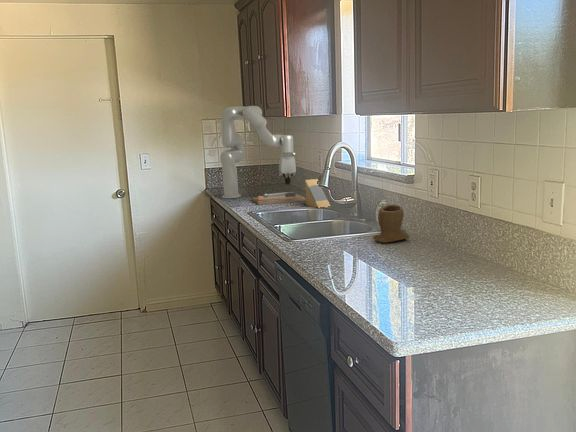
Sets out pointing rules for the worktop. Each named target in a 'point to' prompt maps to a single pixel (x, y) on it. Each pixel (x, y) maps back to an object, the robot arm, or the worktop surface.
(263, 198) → the tongs lower arm
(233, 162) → the robot arm
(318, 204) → the sandwich container
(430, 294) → the worktop surface
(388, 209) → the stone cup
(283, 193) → the upper tong arm
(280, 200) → the walnut cutting board
